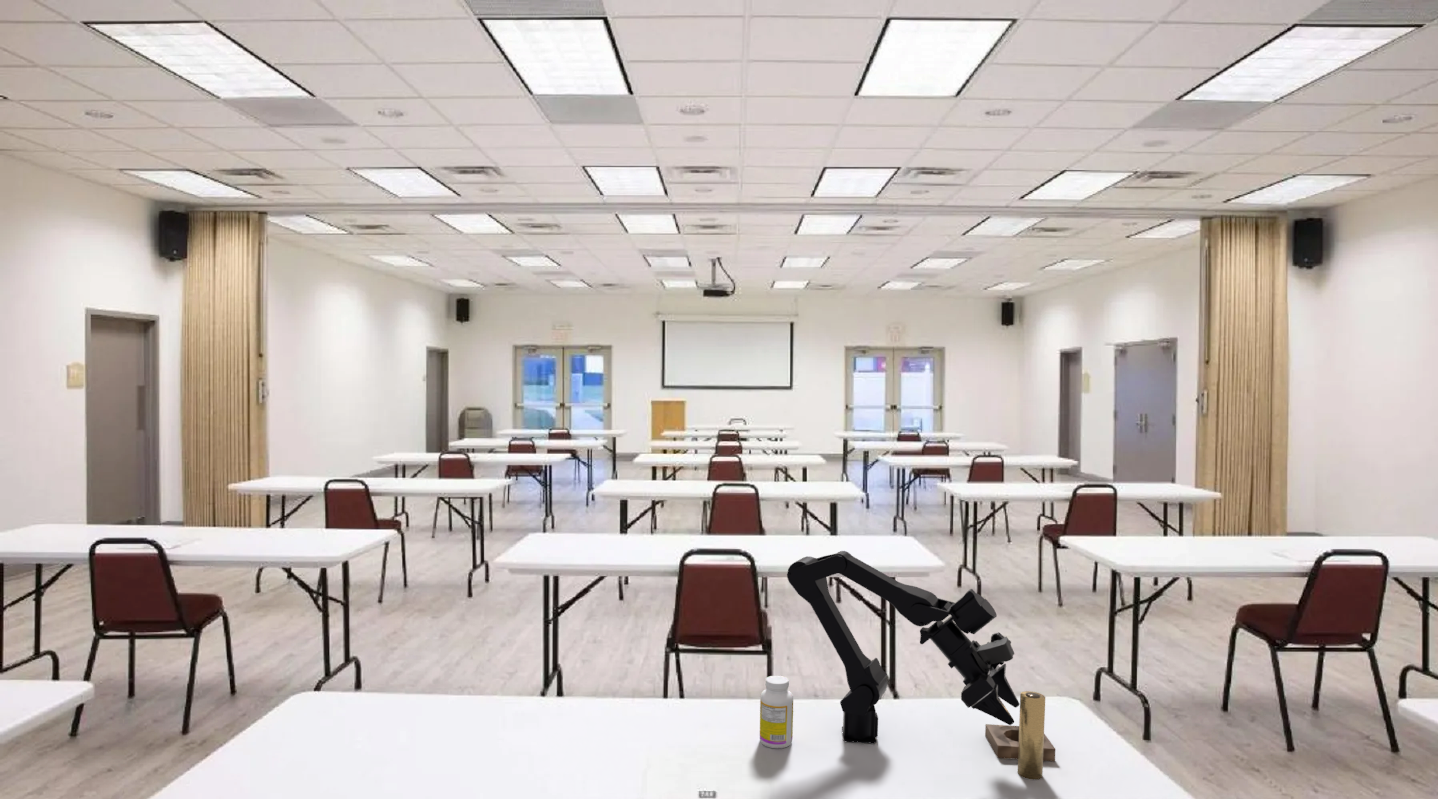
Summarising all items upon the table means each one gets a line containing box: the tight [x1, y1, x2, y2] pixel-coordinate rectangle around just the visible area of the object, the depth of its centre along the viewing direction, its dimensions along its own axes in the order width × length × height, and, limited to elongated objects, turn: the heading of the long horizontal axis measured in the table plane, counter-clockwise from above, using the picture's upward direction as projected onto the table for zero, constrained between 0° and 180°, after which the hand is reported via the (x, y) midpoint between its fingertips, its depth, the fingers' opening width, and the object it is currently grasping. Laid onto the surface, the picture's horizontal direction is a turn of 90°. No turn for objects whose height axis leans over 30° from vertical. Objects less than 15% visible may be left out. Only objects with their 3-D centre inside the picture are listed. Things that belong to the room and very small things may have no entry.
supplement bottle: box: [759, 675, 794, 749], centre depth 167 cm, size 7×7×13 cm
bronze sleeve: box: [1017, 690, 1046, 781], centre depth 156 cm, size 4×4×15 cm
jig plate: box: [984, 723, 1056, 763], centre depth 167 cm, size 11×10×2 cm
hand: (1015, 714), depth 157 cm, fingers open, 9 cm apart
